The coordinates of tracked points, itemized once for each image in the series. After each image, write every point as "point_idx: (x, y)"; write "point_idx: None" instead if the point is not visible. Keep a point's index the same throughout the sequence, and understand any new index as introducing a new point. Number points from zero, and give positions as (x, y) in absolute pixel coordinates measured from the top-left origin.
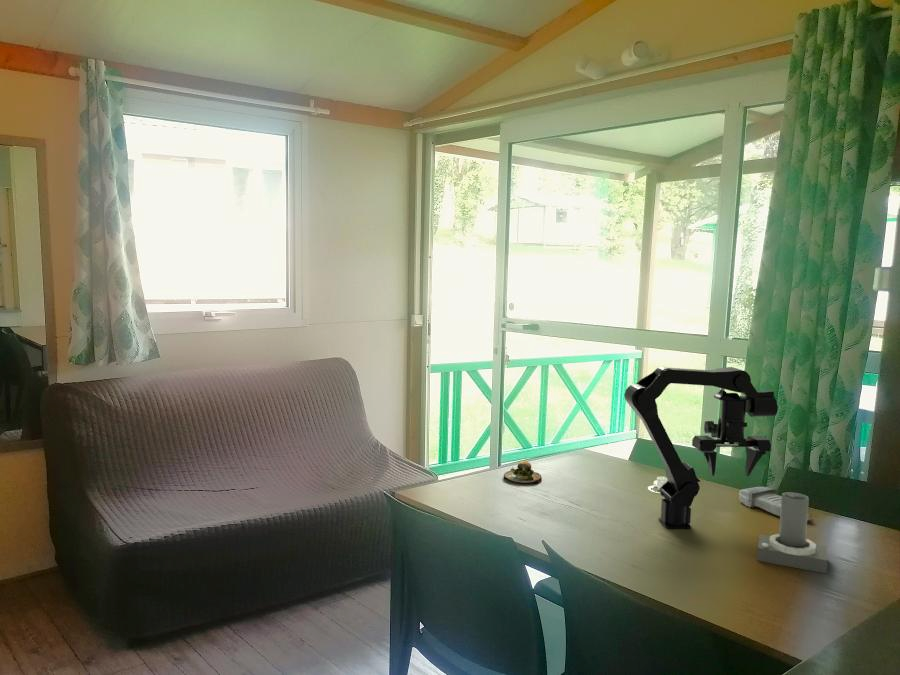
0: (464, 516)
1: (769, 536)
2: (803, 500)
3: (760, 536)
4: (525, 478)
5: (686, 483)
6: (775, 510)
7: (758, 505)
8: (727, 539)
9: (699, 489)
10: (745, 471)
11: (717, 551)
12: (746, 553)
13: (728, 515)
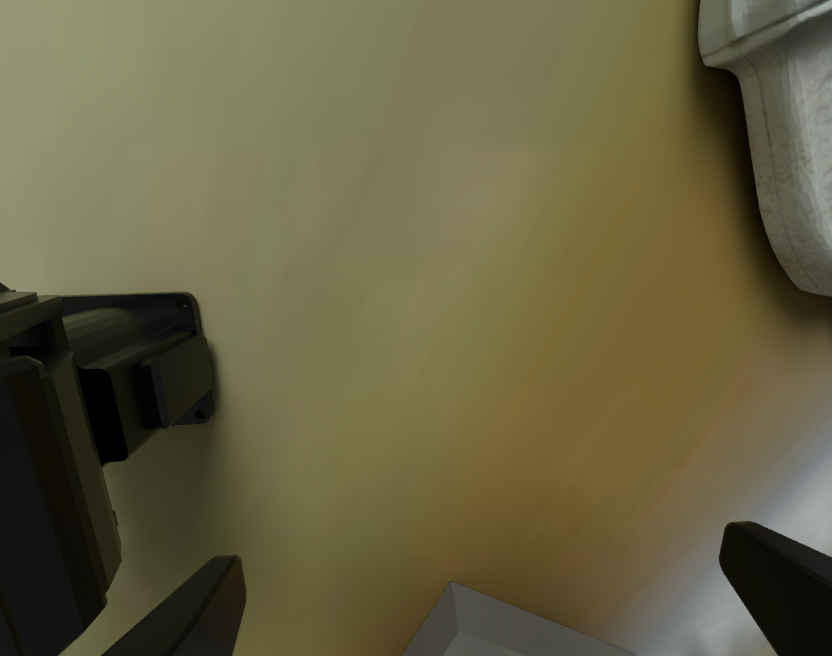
0: None
1: (491, 646)
2: None
3: (450, 650)
4: None
5: None
6: (782, 223)
7: (749, 104)
8: (350, 522)
9: (102, 609)
10: (773, 558)
11: (262, 629)
12: (370, 636)
13: (496, 212)
